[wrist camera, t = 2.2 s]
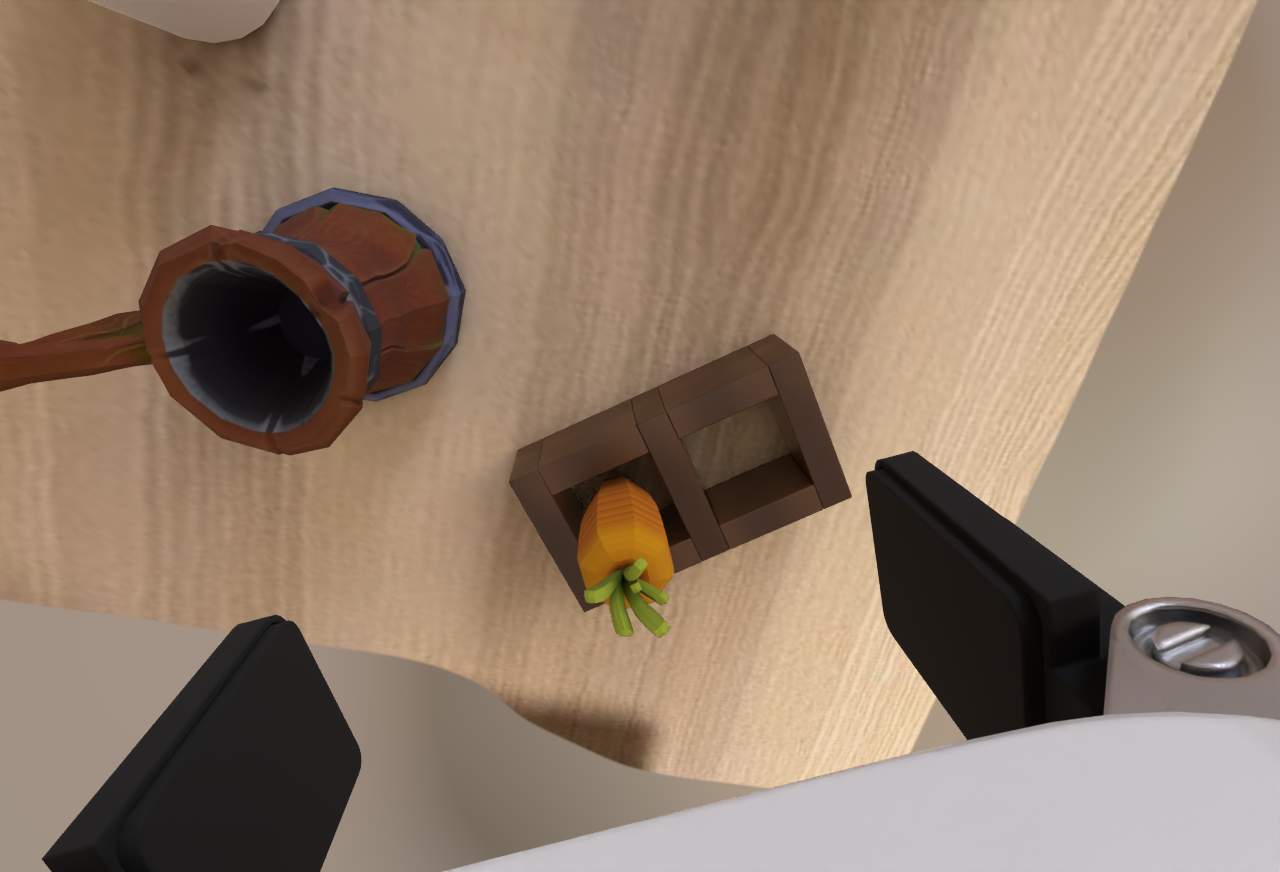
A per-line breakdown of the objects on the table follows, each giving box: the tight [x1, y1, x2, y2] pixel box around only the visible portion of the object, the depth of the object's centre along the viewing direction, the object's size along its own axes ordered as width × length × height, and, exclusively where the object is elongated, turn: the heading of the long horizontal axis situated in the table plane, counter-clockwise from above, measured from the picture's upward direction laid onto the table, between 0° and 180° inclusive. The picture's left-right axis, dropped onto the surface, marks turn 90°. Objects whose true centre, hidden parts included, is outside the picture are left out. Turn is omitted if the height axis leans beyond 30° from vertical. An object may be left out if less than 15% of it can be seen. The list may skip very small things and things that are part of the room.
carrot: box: [577, 476, 674, 638], centre depth 35 cm, size 5×5×15 cm
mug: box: [0, 188, 466, 455], centre depth 30 cm, size 18×12×15 cm, turn 94°
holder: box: [509, 334, 852, 612], centre depth 40 cm, size 17×10×5 cm, turn 114°
